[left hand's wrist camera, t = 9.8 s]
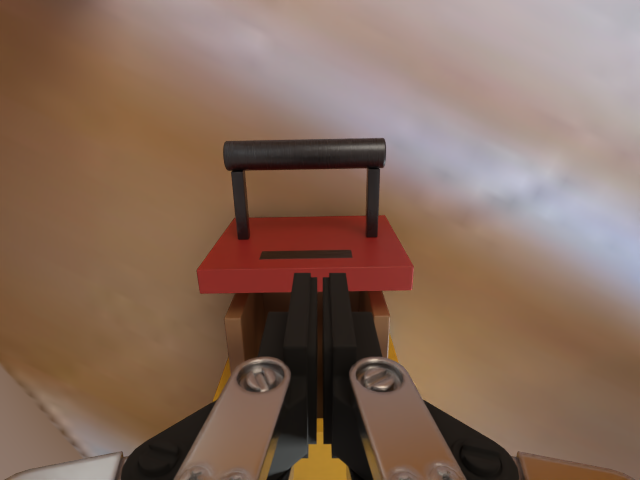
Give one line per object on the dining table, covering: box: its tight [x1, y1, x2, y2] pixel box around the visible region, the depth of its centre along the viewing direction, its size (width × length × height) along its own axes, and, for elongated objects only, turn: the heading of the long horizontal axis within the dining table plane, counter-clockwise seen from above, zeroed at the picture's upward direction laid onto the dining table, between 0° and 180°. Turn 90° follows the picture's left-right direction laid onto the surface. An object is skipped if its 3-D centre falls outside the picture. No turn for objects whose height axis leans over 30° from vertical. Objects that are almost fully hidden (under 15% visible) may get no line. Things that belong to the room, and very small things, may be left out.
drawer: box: [197, 138, 414, 418], centre depth 23 cm, size 24×10×8 cm, turn 1°
